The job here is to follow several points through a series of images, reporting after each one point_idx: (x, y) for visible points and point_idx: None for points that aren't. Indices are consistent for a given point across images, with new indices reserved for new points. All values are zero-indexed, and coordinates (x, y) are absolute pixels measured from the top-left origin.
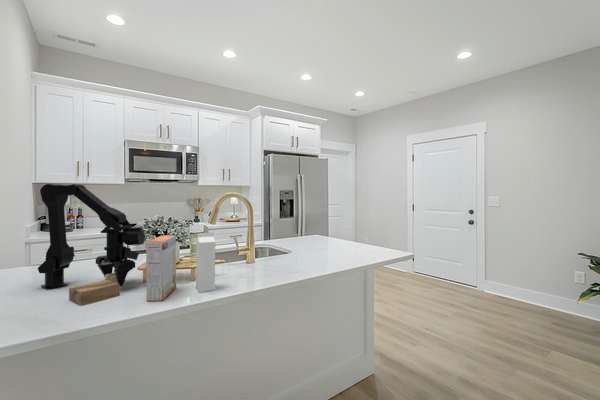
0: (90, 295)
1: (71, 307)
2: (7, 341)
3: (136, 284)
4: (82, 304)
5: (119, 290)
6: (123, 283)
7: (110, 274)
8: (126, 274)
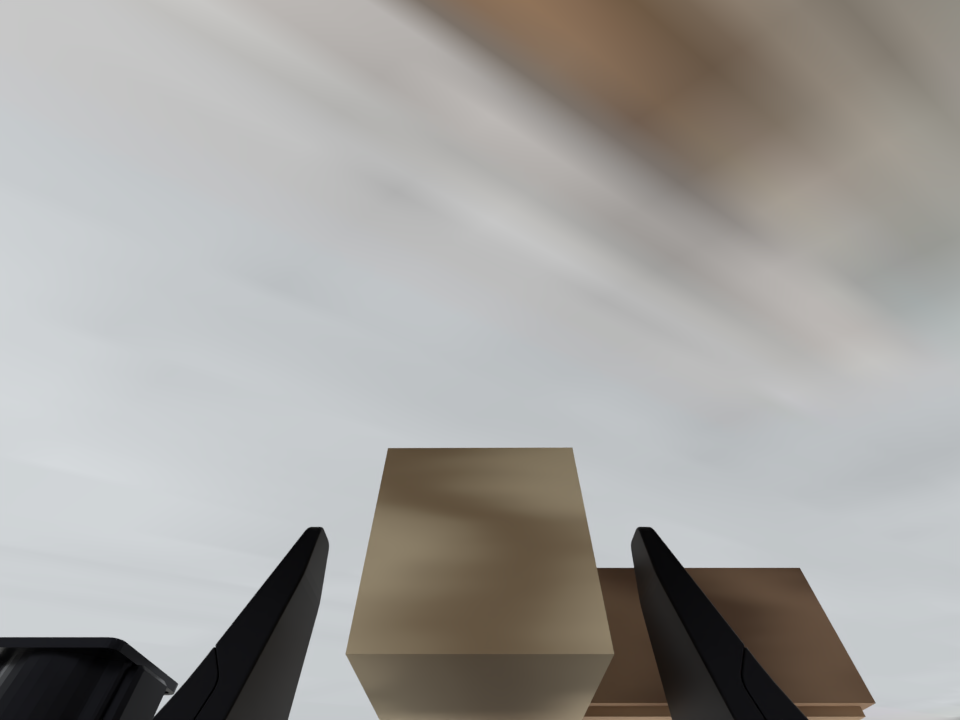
0: None
1: None
2: None
3: (661, 335)
4: None
5: (829, 621)
6: (673, 554)
7: (438, 712)
8: (798, 716)
